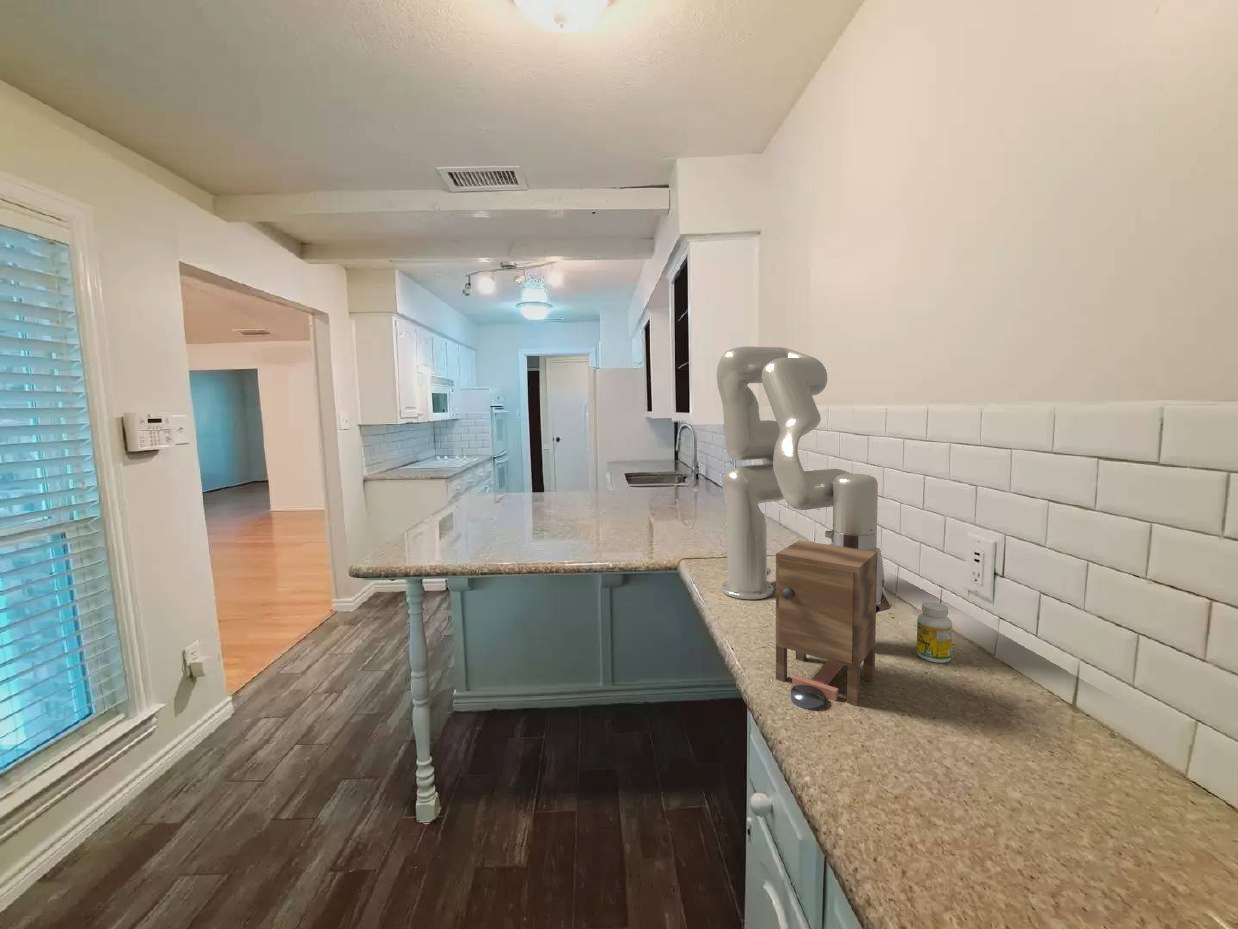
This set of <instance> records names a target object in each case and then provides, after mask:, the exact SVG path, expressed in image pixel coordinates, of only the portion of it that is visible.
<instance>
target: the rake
mask: <svg viewBox="0 0 1238 929" xmlns="http://www.w3.org/2000/svg"><path fill="white" fill-rule="evenodd" d="M844 666H845V665H842V664H838V663H835V662H832V661H828V660H826V662H825V664H823V666H822V667H821V668H820V669H819V670H818V671H817V673H816V674H815V675H814V676H813V677H812V679H810V678H806V677H803V676H800V675H797V674H794V675H793V676H792V678H791V679H792V680H791V681H792V682H791V683H792V684H791V685H792V686H791V687H792V688H793V687H794V686H797V685H810V686H813V687H816V688H818V689H820V690H821V691H822V692H823V693H824V696H825V698H827V699H829V700H832V701H837V700H838V699H839V688H837V687H835V686H831V685H829V684H831V682H833V680H834V678H835V677H836V676H837V675H838V673H839V672H840V671H841V670H840V669H842V668H843V667H844ZM835 675H836V676H835ZM832 679H833V680H832Z"/></svg>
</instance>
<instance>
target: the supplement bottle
mask: <svg viewBox="0 0 1238 929" xmlns="http://www.w3.org/2000/svg"><path fill="white" fill-rule="evenodd" d="M921 611H922V613H920V614H919V615H918V616H917V618H916V620H917V622H916V625H917V626H916V627H917V628H916V654H917V655H918V656H919V657H920V658H921V659H923V660H926V661H929V662H931V663H936V664H937V663H938V664H945V663H948V662H950V660H951V659H952V643H953V642H952V637H953V622H952V620H951V619H950V617H949V616H948V615H949V608H948V606H947V605H945V604H943V603H941V602H935V601H924V602H922V604H921Z"/></svg>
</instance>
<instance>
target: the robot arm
mask: <svg viewBox="0 0 1238 929" xmlns="http://www.w3.org/2000/svg"><path fill="white" fill-rule="evenodd" d="M716 382H717V388H718V392H719V394H720V395H719V396H720V399H721V403H722V410H723V412H722V413H723V426H724V440H725V448H726V452H727V454H728V456H729V457H730V458H731V459H733V460H736V461H749V460H750V461H752V460H754V461H755V460H762V464H750V465H739V466H736V467H733V468H731V469H729V470H728V471H726V473H725V474H724V476H723V478H722V484H721V486H722V487H721V488H722V492H723V497H724V503H725V508H726V510H725V511H726V537H727V538H726V539H727V540H726V542H727V545H726V546H727V547H726V548H727V550H726V551H727V552H726V554H727V580H726V581H724V582H722V584H721V591H722V593H724V594H725V595H727V596H729V597H730V598H731V597H732V598H734V599H735V598H736V599H741V600H763V599H766V598H768V597H770V596H772V595H773V593H774V586H773V585H772V584H771V583H769V582H768V578H767V577H768V576H770V575H771V574H772V570H771V568H770V567H768V566H767V564H768V560H767V556H768V555H767V554H768V552H767V551H768V550H767V544H768V543H767V539H768V538H767V534H768V533H767V532H768V531H767V520H766V516H765V515H764V513H763V511H762V510H761V509H760V507H759V505H760V504H764V503H772V502H773V503H774V502H779V501H783V500H785V502H786V503H787V504H788V505H789V506H790V507H791V508H792V509H795V510H799V511H806V510H808V511H809V510H815V509H821V508H822V509H823V508H832V529H831V530H825V533H824V537H825V538H828V539H830V540H831V543H830V544H828V545H834V546H841V547H848V548H855V549H862V550H869V551H876V552H877V590H876V614H877V613H879V612H884V611H888V610H891V608H892V607H893V604H892V601H891V599H890V597H889V595H888V594H887V592H886V589H885V588H886V585H885V569H884V562H883V556H882V550H881V549H880V548H879V547H877V546H878V502H879V500H878V499H879V498H878V497H879V484H878V481H877V478H876V477H875V476H873V475H870V474H866V473H865V474H864V473H862V474H861V473H852V472H849V471H846V470H844V469H839V468H827V469H826V468H825V469H815V470H814V469H813V470H806V471H804V467H803V465H802V463H801V460H800V457H799V451H798V450H799V449H798V447H799V442H800V440H801V437H803V436H805V435H806V434H809V433H810V432H811V431H813V430H814V429H816V428H817V427H818V426H819V425H820V422H821V418H822V417H821V414H820V412H819V410H818V407H817V404H816V402H815V399H814V397H813V396H817V395H819V394H821V393H822V392H823V391H824V390H825V389H826V386H827V384H828V372H827V369H826V367H825V365H824V364H823V363H822V362H821V361H820V360H819V359H818V358H816V357H814V356H810V355H807V354H805V353H802V352H799V351H796V350H793V349H790V348H787V347H780V346H779V347H777V346H739V347H733V348H730V349H728V350H727V351H725V352H724V353H723V354H722V356H721V357H720V359H719V361H718V364H717V368H716ZM749 384H762V385H763V388H764V391H765V394H766V396H767V400H768V402H769V405H770V407H771V411H772V412H773V415H774V418H775V420H769V419H768V420H761V417H760V411H759V410H760V407H759V402H758V399H757V397H756V395H755V394H754V392H753V390H752V389H751V388H750V387H749V386H748V385H749Z"/></svg>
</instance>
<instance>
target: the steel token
mask: <svg viewBox="0 0 1238 929" xmlns="http://www.w3.org/2000/svg"><path fill="white" fill-rule="evenodd" d="M825 698H826V697H825V696H824V693H823V692H822V691H821V690H820V689H818V688H816V687H813V686H810V685H797V686H794V687H793V686H792V687H791V689H790V701H791V702H792V703H793V705H794V706H796V707H798V708H801V709H803V710H808V711H816V710H820V709H822V708H823V707H824V706H825Z"/></svg>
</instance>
